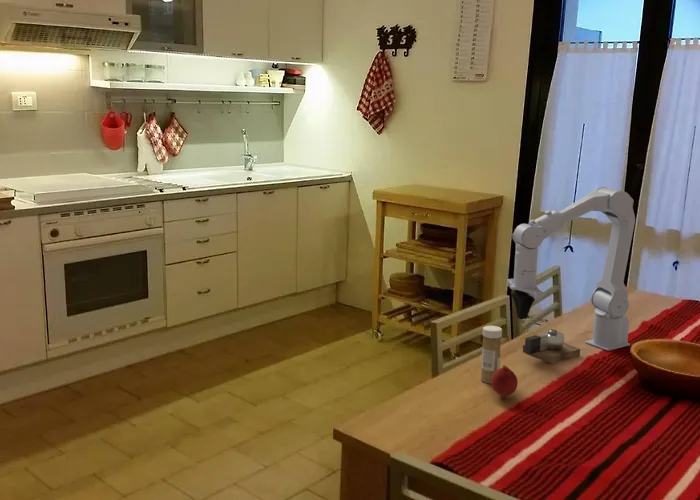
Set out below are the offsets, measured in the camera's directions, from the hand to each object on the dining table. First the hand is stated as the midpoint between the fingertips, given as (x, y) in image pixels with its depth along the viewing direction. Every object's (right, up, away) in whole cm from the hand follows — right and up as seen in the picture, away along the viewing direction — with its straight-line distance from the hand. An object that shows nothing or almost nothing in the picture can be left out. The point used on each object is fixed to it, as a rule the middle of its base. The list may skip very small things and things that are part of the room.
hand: (522, 318), depth 187 cm
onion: (-11, -16, -28) cm, 34 cm away
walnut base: (+8, -10, 0) cm, 12 cm away
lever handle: (+5, -8, -3) cm, 10 cm away
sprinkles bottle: (-13, -14, -18) cm, 26 cm away
